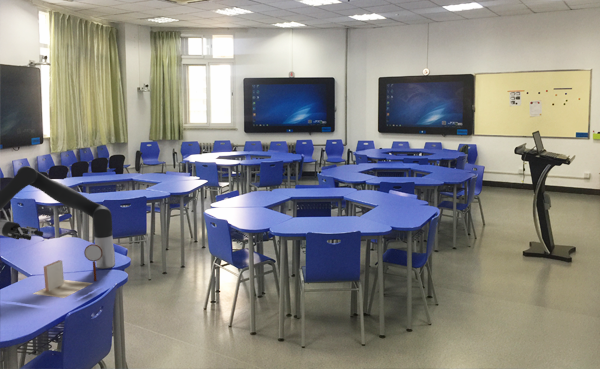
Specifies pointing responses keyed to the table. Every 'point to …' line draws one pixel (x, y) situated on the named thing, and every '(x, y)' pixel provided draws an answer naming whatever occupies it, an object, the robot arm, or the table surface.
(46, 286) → the tile
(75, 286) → the board
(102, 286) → the table surface
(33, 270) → the table surface
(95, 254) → the magnifying glass
